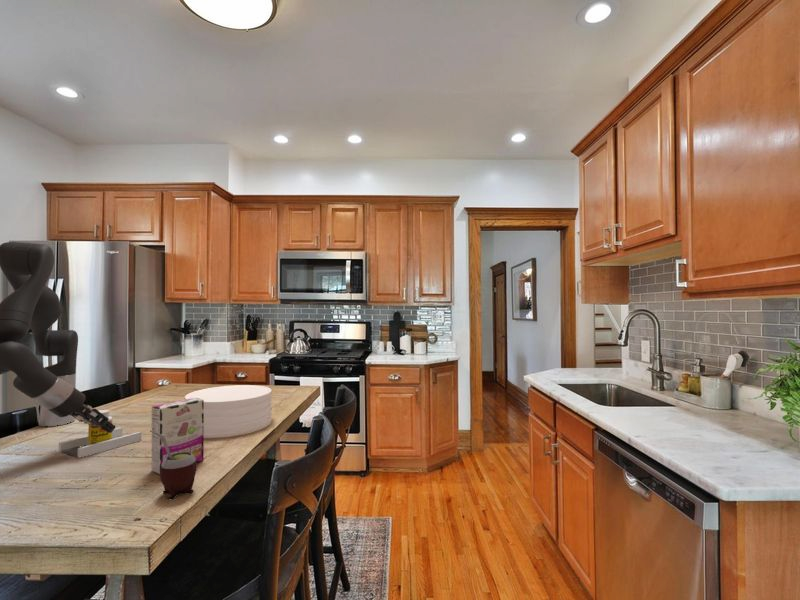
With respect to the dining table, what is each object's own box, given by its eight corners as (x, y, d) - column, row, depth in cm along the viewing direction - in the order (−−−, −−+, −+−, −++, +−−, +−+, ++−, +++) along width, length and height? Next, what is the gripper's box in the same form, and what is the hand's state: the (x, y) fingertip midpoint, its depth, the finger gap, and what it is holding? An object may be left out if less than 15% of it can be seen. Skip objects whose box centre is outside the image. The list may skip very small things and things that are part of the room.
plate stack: (283, 415, 147) (283, 385, 147) (247, 439, 119) (248, 403, 119) (215, 413, 150) (215, 384, 150) (164, 436, 122) (164, 400, 122)
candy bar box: (193, 457, 104) (194, 396, 105) (204, 460, 102) (205, 399, 102) (149, 471, 95) (150, 405, 95) (159, 476, 92) (161, 408, 93)
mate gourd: (202, 485, 87) (203, 419, 88) (183, 502, 79) (185, 430, 80) (169, 485, 87) (170, 419, 88) (147, 502, 79) (148, 430, 80)
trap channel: (79, 458, 103) (80, 448, 104) (58, 451, 108) (58, 442, 108) (141, 440, 118) (141, 432, 118) (120, 435, 123) (120, 427, 123)
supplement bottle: (86, 450, 109) (87, 414, 109) (89, 445, 114) (90, 410, 114) (111, 447, 112) (112, 412, 112) (112, 441, 117) (113, 408, 117)
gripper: (84, 387, 103) (130, 420, 114) (57, 383, 110) (103, 414, 120) (59, 411, 98) (110, 443, 109) (33, 405, 105) (83, 436, 115)
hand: (106, 428), depth 114 cm, fingers closed on supplement bottle, 5 cm apart
